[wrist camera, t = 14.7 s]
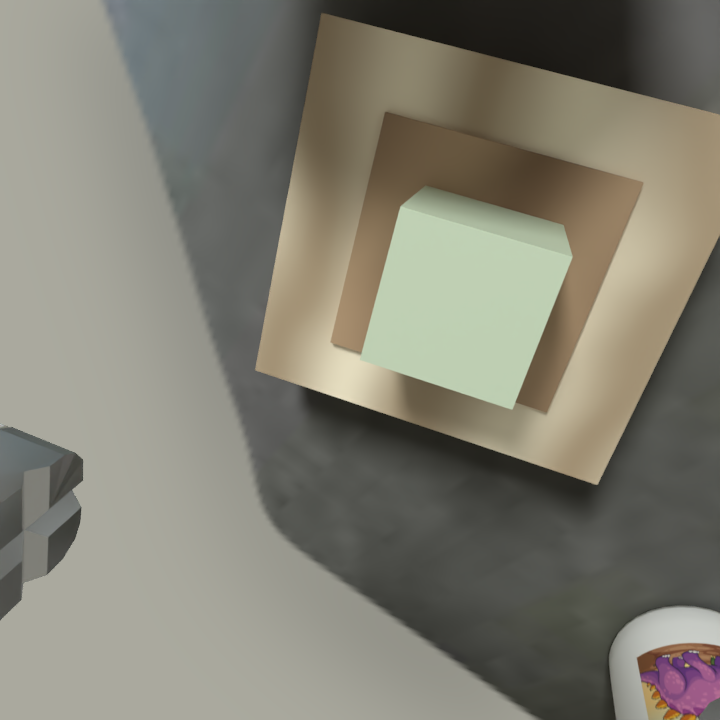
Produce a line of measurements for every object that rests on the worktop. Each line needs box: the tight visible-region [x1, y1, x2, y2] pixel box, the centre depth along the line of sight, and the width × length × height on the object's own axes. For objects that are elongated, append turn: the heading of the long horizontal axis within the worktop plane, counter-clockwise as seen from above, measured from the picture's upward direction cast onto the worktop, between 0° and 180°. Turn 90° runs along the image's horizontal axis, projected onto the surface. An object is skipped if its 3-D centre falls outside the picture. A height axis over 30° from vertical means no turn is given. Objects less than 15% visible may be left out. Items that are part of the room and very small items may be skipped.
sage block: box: [360, 186, 573, 410], centre depth 21 cm, size 5×5×5 cm
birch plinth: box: [255, 13, 720, 485], centre depth 26 cm, size 15×14×5 cm
